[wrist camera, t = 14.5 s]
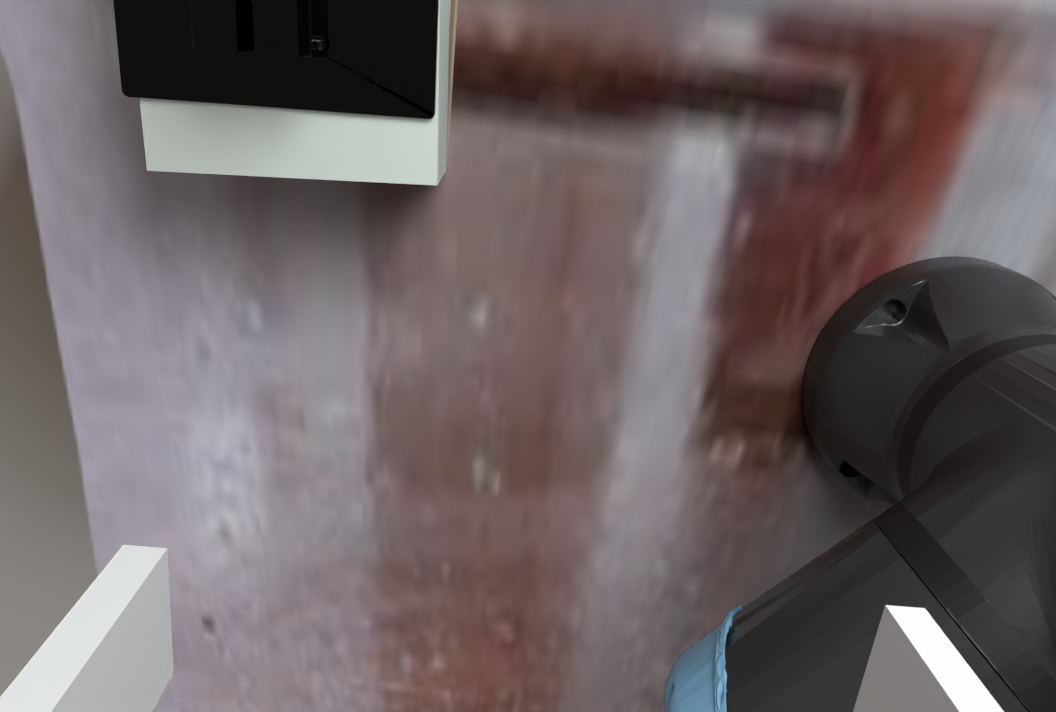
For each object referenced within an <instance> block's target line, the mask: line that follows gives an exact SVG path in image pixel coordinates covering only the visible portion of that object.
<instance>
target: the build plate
mask: <svg viewBox="0 0 1056 712" xmlns="http://www.w3.org/2000/svg"><path fill="white" fill-rule="evenodd" d="M114 11H115V21H116V32H117V43H118V53H119V64H120V74H121V85H122V92H123V93H124V95H126V96H128V97H138V98H152V99H165V100H179V101H192V102H206V103H219V104H233V105H246V106H260V107H273V108H287V109H300V110H314V111H327V112H341V113H354V114H368V115H381V116H395V117H408V118H422V119H431V118H433V117H434V115H435V106H436V75H437V45H438V14H439V0H114Z"/></svg>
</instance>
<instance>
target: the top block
mask: <svg viewBox="0 0 1056 712" xmlns="http://www.w3.org/2000/svg"><path fill="white" fill-rule="evenodd" d="M449 4H450V0H439V14H438V45H437V75H436V106H435V115H434V117H433V118H431V119H422V118H408V117H395V116H381V115H368V114H354V113H341V112H327V111H314V110H300V109H287V108H273V107H260V106H246V105H233V104H219V103H206V102H192V101H179V100H165V99H152V98H139V100H140V109H141V119H142V128H143V138H144V147H145V157H146V166H147V171H162V172H182V173H201V174H221V175H241V176H260V177H280V178H300V179H319V180H339V181H358V182H378V183H398V184H417V185H438V184H439V182H440V180H441V179H442V177H443V175H444V174H445V172H446V166H447V112H448V58H449Z"/></svg>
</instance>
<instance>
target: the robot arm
mask: <svg viewBox="0 0 1056 712" xmlns="http://www.w3.org/2000/svg"><path fill="white" fill-rule="evenodd" d="M803 411H804V417H805V422H806V425H807V429H808V432H809V434H810V437H811V439H812V441H813V443H814V445H815V447H816V448H817V450H818V452H819V453H820V455H821V456H822V457H823V458H824V460H825V461H826V462H827V463H828V465H829V466H830V467H831V468H832V470H833V471H834V472H835V473H836V475H837V476H838V477H839V478H840V479H841V480H842V481H843V482H844V483H845V484H846V485H847V486H849V487H850V488H851V489H853V490H854V491H855V492H856V493H858V494H859V495H861V496H862V497H864V498H866V499H867V500H869V501H871V502H873V503H876V504H878V505H880V506H882V507H885V508H887V510H886V511H885V512H883V513H882V514H880V515H879V516H877V517H876V518H874V520H873V519H872V520H871V521H869V522H868V523H867V524H865V525H864V526H862V527H861V528H859V529H858V530H856V531H855V532H854V533H852V534H851V535H849V536H848V537H846V538H845V539H843V540H842V541H840V542H839V543H838V544H836V545H835V546H833V547H832V548H830V549H829V550H827V551H826V552H824V553H823V554H821V555H820V556H819V557H817V558H816V559H814V560H813V561H811V562H810V563H808V564H807V565H805V566H804V567H803V568H801V569H800V570H798V571H797V572H795V573H794V574H792V575H791V576H789V577H788V578H786V579H785V580H784V581H782V582H781V583H779V584H778V585H776V586H775V587H773V588H772V589H770V590H769V591H768V592H766V593H765V594H763V595H762V596H760V597H759V598H757V599H756V600H754V601H753V602H751V603H750V604H749V605H747V606H746V607H741V606H739V607H737V608H735V609H733V610H731V611H730V612H729V613H728V614H727V615H726V616H725V618H724V620H723V622H722V624H721V625H719V626H718V627H717V628H715V629H714V630H713V631H712V632H710V633H709V634H708V635H706V636H705V637H704V638H702V639H701V640H700V641H699V642H697V643H696V644H695V645H693V646H692V647H691V648H690V649H688V650H687V651H686V652H684V653H683V654H682V655H681V656H680V657H679V659H678V660H677V661H676V663H675V664H674V666H673V668H672V670H671V672H670V674H669V676H668V680H667V683H666V690H665V695H664V703H665V712H1056V297H1055V296H1054V295H1053V294H1052V293H1051V292H1049V291H1048V290H1047V289H1045V288H1044V287H1043V286H1042V285H1040V284H1039V283H1037V282H1036V281H1034V280H1032V279H1030V278H1029V277H1027V276H1025V275H1022V274H1020V273H1018V272H1015V271H1013V270H1010V269H1008V268H1005V267H1003V266H1001V265H998V264H996V263H992V262H989V261H986V260H981V259H976V258H969V257H940V258H933V259H927V260H922V261H918V262H914V263H911V264H908V265H905V266H902V267H900V268H897V269H895V270H893V271H891V272H888V273H886V274H885V275H883V276H881V277H879V278H877V279H876V280H874V281H872V282H871V283H869V284H868V285H866V286H865V287H864V288H862V289H861V290H860V291H858V292H857V293H856V294H855V295H853V296H852V297H851V298H850V299H849V300H848V301H847V302H846V303H845V304H844V305H843V306H842V307H841V308H840V309H839V310H838V311H837V312H836V314H835V315H834V316H833V317H832V319H831V320H830V321H829V323H828V324H827V325H826V327H825V328H824V330H823V332H822V333H821V335H820V337H819V338H818V340H817V342H816V344H815V346H814V349H813V351H812V353H811V356H810V359H809V361H808V365H807V368H806V372H805V378H804V384H803ZM173 674H174V673H173V652H172V632H171V611H170V591H169V570H168V550H167V548H157V547H144V546H131V545H123V546H122V547H121V548H120V550H119V551H118V552H117V553H116V555H115V556H114V557H113V558H112V559H111V561H110V562H109V563H108V564H107V566H106V567H105V568H104V569H103V571H102V572H101V573H100V574H99V576H98V577H97V578H96V579H95V581H94V582H93V583H92V584H91V585H90V587H89V588H88V589H87V590H86V592H85V593H84V594H83V595H82V597H81V598H80V599H79V600H78V602H77V603H76V604H75V605H74V607H73V608H72V609H71V610H70V611H69V613H68V614H67V615H66V616H65V618H64V619H63V620H62V622H61V623H60V624H59V625H58V626H57V628H56V629H55V630H54V631H53V632H52V634H51V635H50V636H49V637H48V639H47V640H46V641H45V643H44V644H43V645H42V646H41V647H40V649H39V650H38V651H37V652H36V654H35V655H34V656H33V657H32V658H31V660H30V661H29V662H28V663H27V665H26V666H25V667H24V668H23V670H22V671H21V672H20V673H19V675H18V676H17V677H16V678H15V680H14V681H13V682H12V683H11V684H10V686H9V687H8V688H7V689H6V691H5V692H4V693H3V694H2V696H1V697H0V712H153V710H154V708H155V706H156V704H157V703H158V701H159V699H160V697H161V695H162V694H163V692H164V690H165V688H166V686H167V685H168V683H169V681H170V679H171V677H172V676H173Z"/></svg>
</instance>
